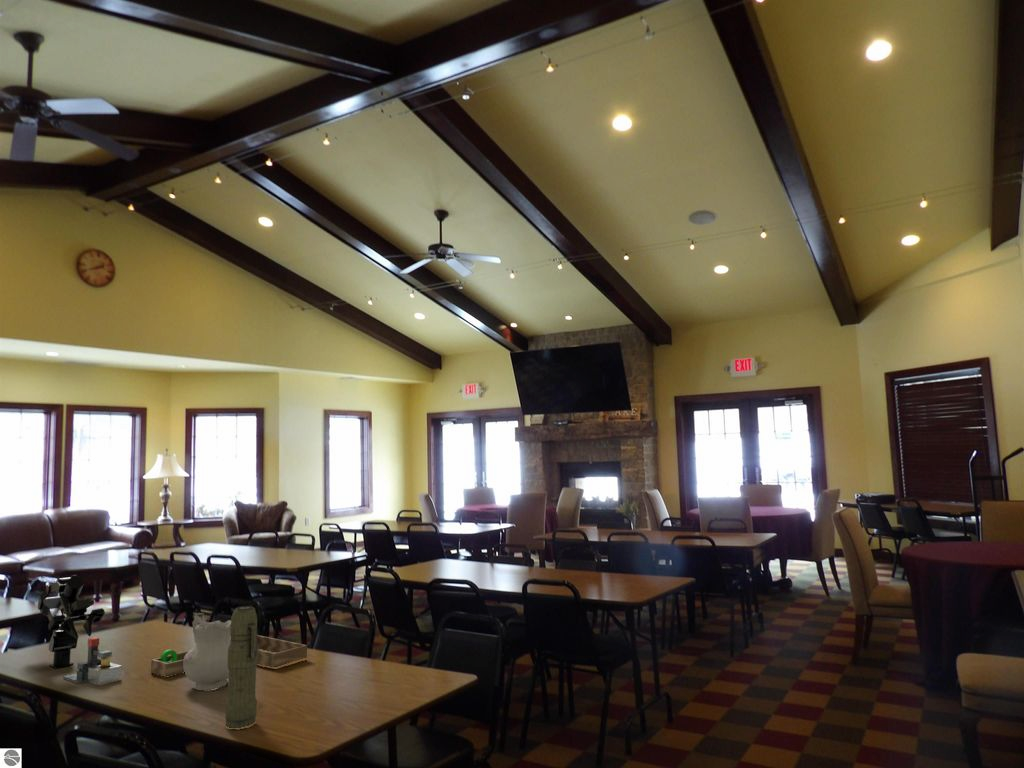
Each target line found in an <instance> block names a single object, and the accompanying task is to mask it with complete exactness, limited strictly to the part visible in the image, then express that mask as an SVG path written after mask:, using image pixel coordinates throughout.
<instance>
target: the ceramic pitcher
mask: <svg viewBox="0 0 1024 768" xmlns="http://www.w3.org/2000/svg"><path fill="white" fill-rule="evenodd" d="M194 616H195V617H194V619H193V622H192V624H193V625H192V633H193V639H194V642H195V645H194V646H193V648H191V649H190V650H188V651H189V652H188V653H187V654H186V655H185V657H184V660H183V667H184V672H185V673H184V674H185V676H186V677H187V678H188V679H189V681H191V682H192V683H195V684H194V685H193V687H194V690H197V691H201V690H211V689H215V688H219V687H221V688H223V687H225V686H227V685H228V684H227V683H228V682H229V669H228V666H227V664H228V648H229V645H230V639H231V619H230V620H227V621H225V622H223V621H221V620H215V621H212V622H210V621H209V622H207V621H206V620H205V616H204V612H203V613H202V612H201V613H200V612H196V613H195V614H194ZM226 684H227V685H226ZM222 686H223V687H222Z"/></svg>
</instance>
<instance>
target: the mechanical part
mask: <svg viewBox="0 0 1024 768" xmlns="http://www.w3.org/2000/svg"><path fill="white" fill-rule="evenodd" d="M177 654H178V653H177V652H176V651H175V650H173V649H169V648H168V649H166V650H164V651H163V652H162V653H161V655H160V657H159V658H160V661H162V662H166V663H171V662H175V661H177ZM169 655H171V656H172V657H171V659H170V660H169V661H166V658H167V656H169Z"/></svg>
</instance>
